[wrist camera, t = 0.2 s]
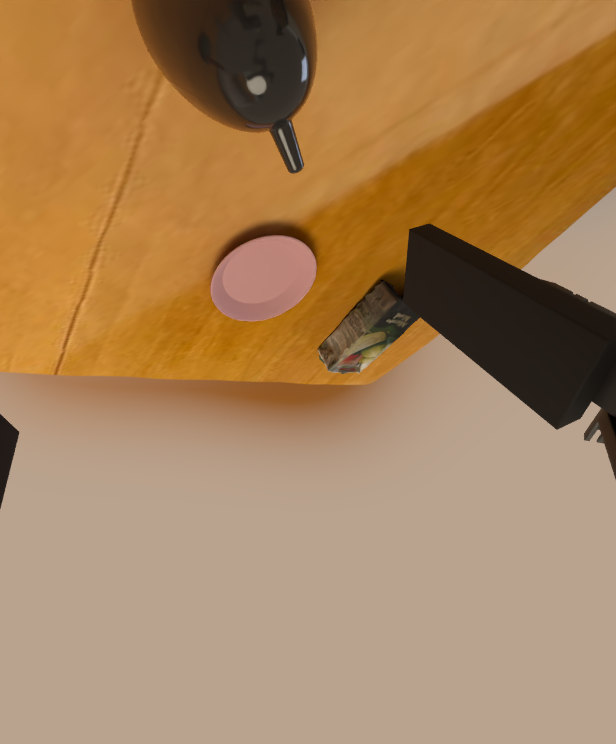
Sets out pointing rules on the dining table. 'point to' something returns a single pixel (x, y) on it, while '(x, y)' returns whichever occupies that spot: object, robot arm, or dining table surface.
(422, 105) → the dining table surface
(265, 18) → the pump dispenser
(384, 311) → the juice carton
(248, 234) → the dining table surface
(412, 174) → the dining table surface
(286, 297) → the plate
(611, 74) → the dining table surface
